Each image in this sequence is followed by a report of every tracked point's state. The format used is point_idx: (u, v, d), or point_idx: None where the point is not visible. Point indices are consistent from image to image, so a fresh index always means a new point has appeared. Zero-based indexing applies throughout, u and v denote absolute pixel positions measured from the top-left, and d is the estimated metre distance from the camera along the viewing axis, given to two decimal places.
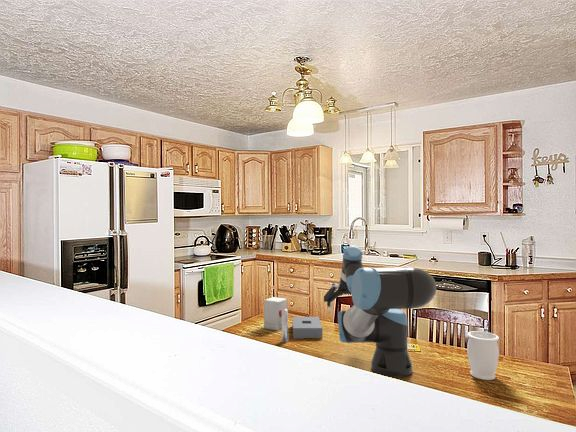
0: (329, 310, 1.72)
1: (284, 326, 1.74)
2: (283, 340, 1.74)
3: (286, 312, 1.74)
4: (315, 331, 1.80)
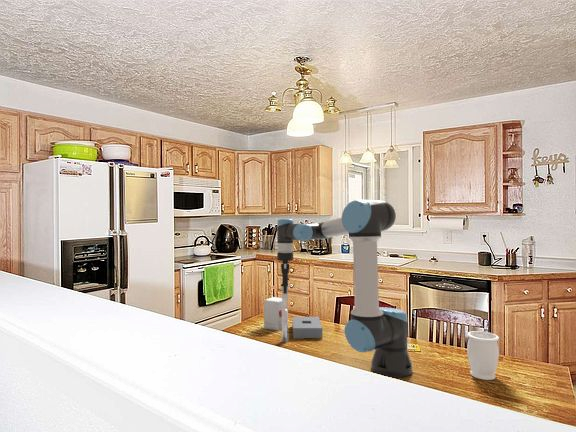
0: (286, 299, 1.69)
1: (284, 326, 1.74)
2: (283, 340, 1.74)
3: (286, 312, 1.74)
4: (315, 331, 1.80)
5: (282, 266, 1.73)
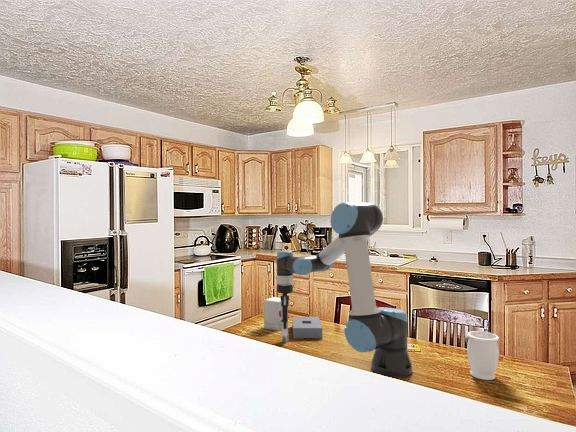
0: (286, 334, 1.73)
1: None
2: (283, 340, 1.74)
3: None
4: (315, 331, 1.80)
5: None
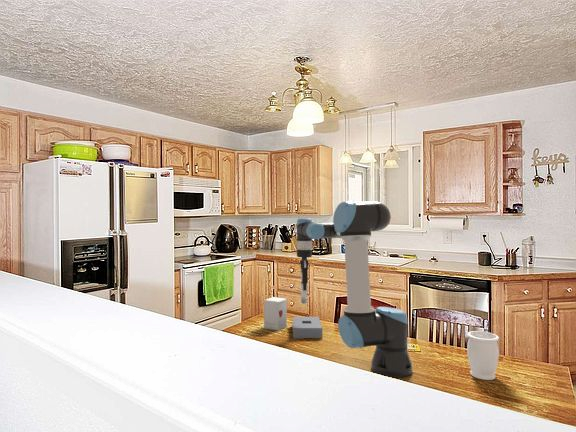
0: (305, 295, 1.86)
1: None
2: (303, 301, 1.87)
3: None
4: (315, 331, 1.80)
5: (302, 263, 1.86)
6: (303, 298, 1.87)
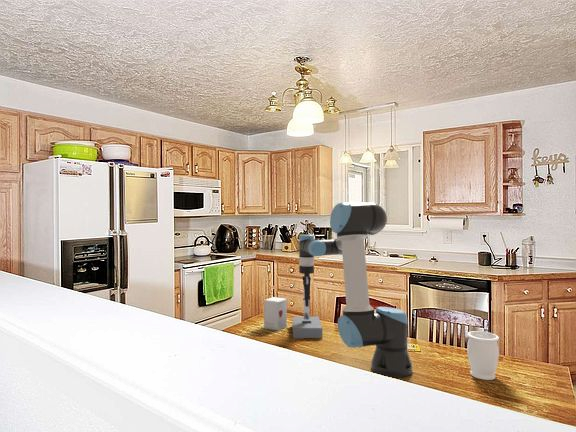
0: (308, 311, 1.87)
1: None
2: (305, 317, 1.88)
3: None
4: (315, 331, 1.80)
5: (304, 279, 1.88)
6: (305, 314, 1.88)
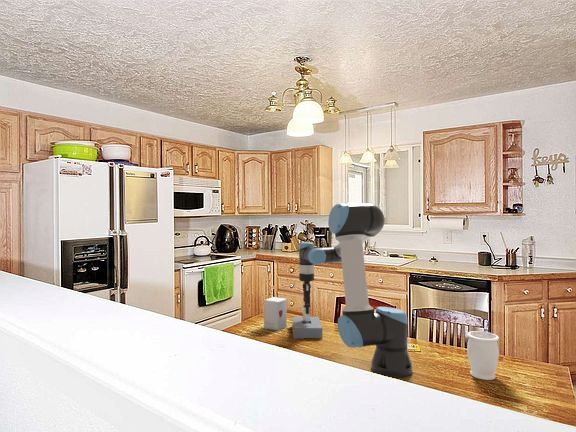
0: (308, 318, 1.85)
1: None
2: None
3: None
4: (315, 331, 1.80)
5: (304, 287, 1.87)
6: None
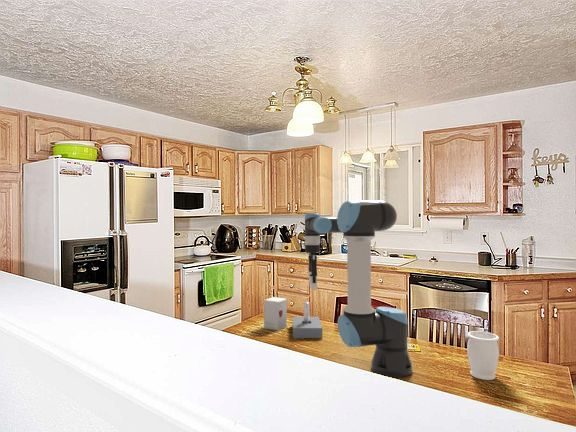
0: (315, 288, 1.79)
1: (306, 318, 1.88)
2: None
3: (308, 305, 1.88)
4: (315, 331, 1.80)
5: (310, 258, 1.84)
6: None
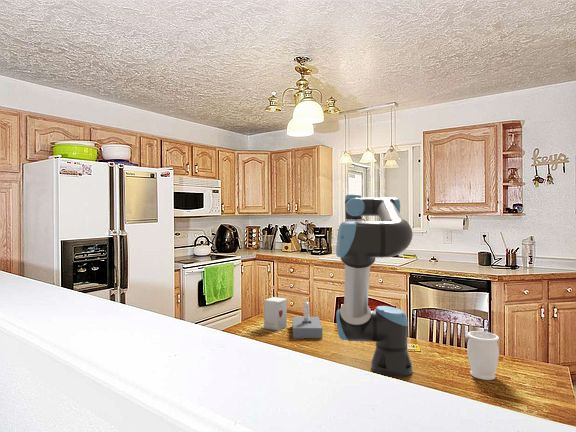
0: None
1: (306, 318, 1.88)
2: None
3: (308, 305, 1.88)
4: (315, 331, 1.80)
5: None
6: None
